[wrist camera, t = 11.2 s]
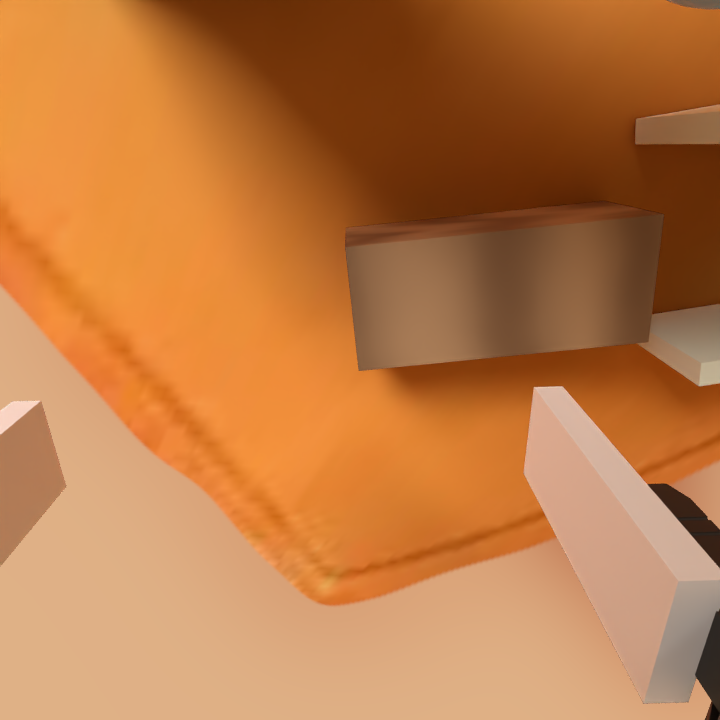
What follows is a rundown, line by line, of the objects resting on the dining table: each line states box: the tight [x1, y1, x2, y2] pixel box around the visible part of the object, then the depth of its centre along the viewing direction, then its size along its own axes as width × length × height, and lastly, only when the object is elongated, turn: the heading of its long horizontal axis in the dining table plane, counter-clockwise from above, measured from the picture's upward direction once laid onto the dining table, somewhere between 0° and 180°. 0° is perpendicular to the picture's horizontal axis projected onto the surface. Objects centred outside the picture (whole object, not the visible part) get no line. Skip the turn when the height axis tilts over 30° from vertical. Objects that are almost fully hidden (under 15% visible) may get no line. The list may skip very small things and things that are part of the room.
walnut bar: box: [345, 201, 664, 371], centre depth 27 cm, size 14×6×6 cm, turn 96°
